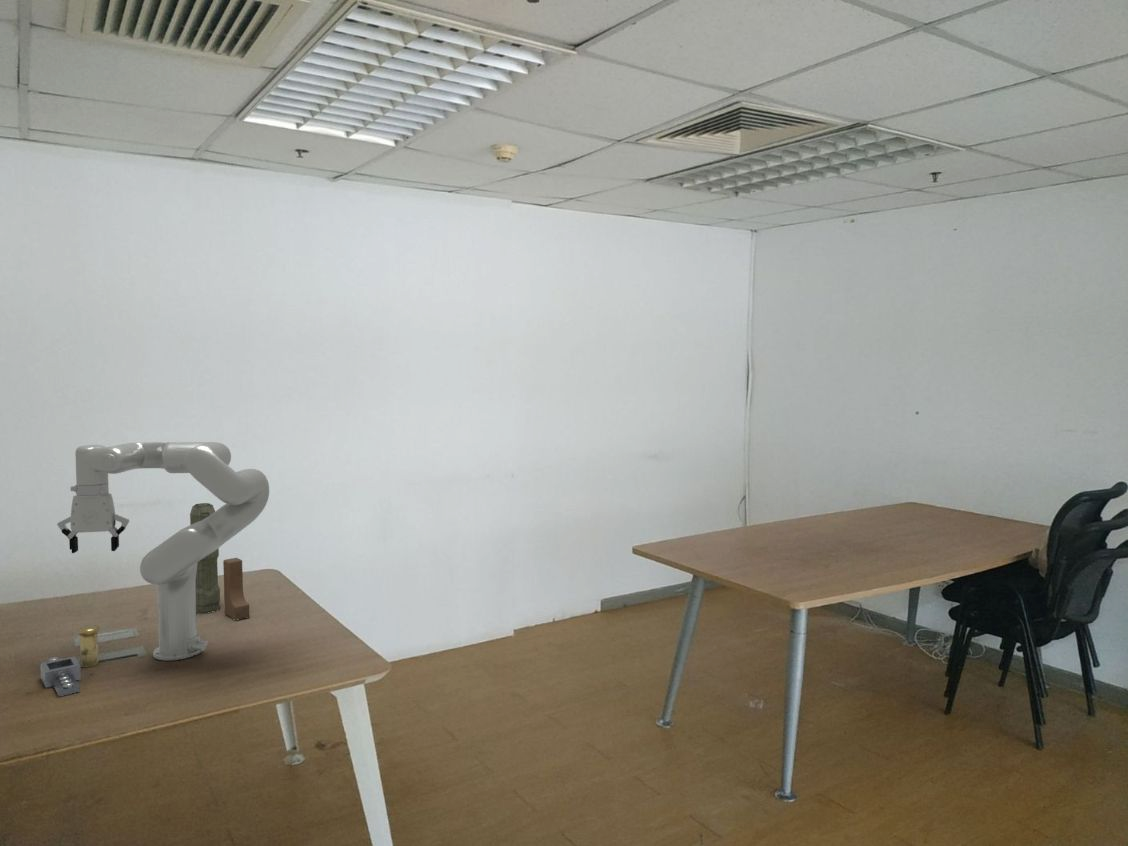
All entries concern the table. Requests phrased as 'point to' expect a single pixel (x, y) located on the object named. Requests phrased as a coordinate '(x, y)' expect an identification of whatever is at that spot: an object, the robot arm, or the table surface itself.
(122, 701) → the table surface
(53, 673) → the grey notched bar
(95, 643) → the pin
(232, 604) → the wooden block
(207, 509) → the thermos
